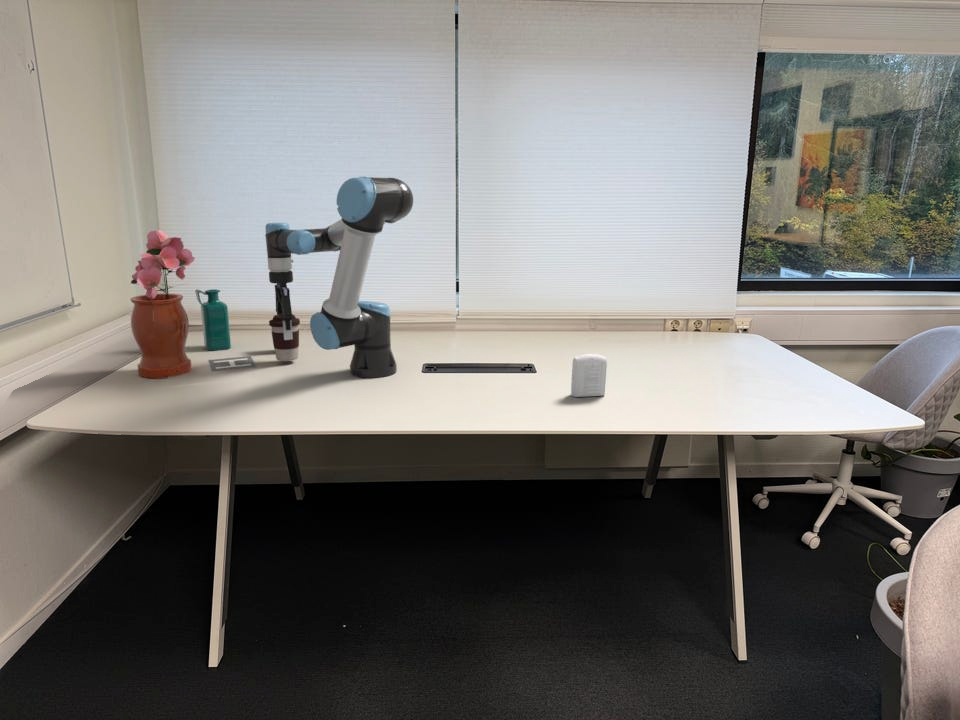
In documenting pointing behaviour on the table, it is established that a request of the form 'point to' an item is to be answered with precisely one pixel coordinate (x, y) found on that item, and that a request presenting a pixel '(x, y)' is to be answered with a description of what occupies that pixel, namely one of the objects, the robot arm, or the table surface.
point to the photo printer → (588, 375)
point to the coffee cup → (285, 348)
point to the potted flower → (161, 309)
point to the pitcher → (214, 321)
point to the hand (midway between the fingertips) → (285, 336)
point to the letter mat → (231, 363)
